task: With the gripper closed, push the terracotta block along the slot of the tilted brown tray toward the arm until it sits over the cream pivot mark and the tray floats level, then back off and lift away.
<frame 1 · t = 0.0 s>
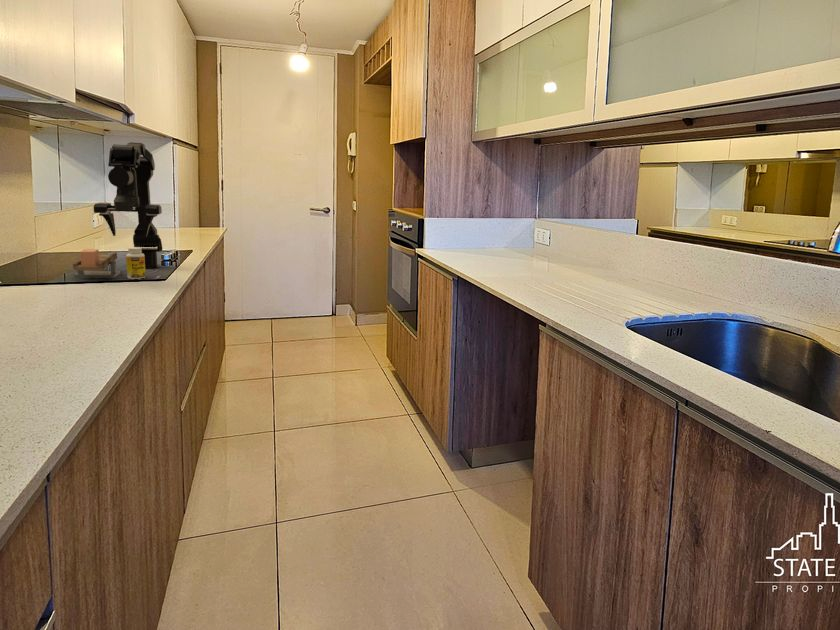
hand: (130, 236, 188), 15 cm above the counter, tool pointing down, fingers open, 9 cm apart
supplement bottle: (136, 279, 196), on the counter
pivot stand: (97, 275, 198), on the counter
brown tray: (96, 260, 196), point 5 cm above the counter, hinge at 1.9°, touching rider block
rider block: (90, 264, 190), point 5 cm above the counter, touching brown tray
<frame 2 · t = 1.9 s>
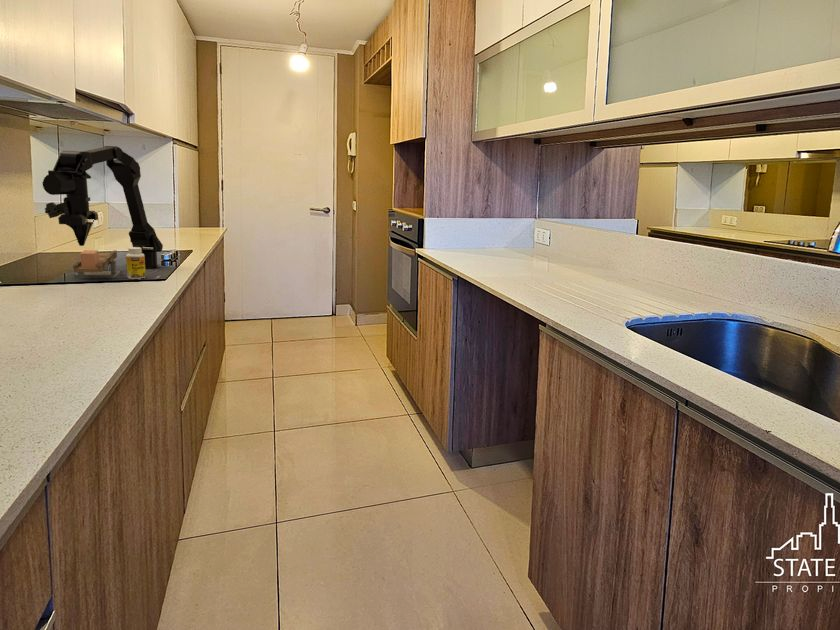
hand: (81, 245, 181), 12 cm above the counter, tool pointing down, fingers closed
brown tray: (96, 260, 196), point 5 cm above the counter, hinge at 4.9°, touching rider block
everything else where it was.
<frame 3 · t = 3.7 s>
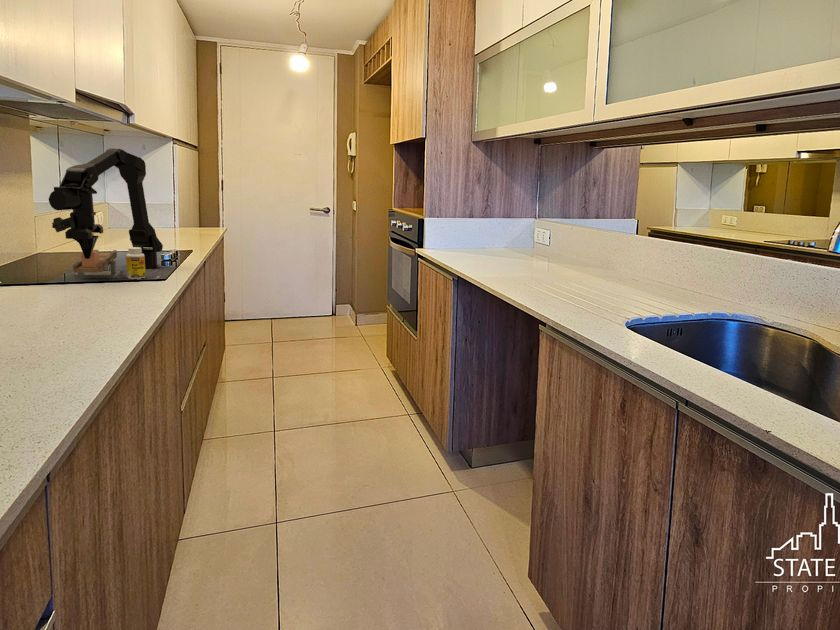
hand: (87, 258, 186), 7 cm above the counter, tool pointing down, fingers closed
rider block: (91, 264, 191), point 5 cm above the counter, tilted 5°, touching brown tray, gripper
everything else where it was.
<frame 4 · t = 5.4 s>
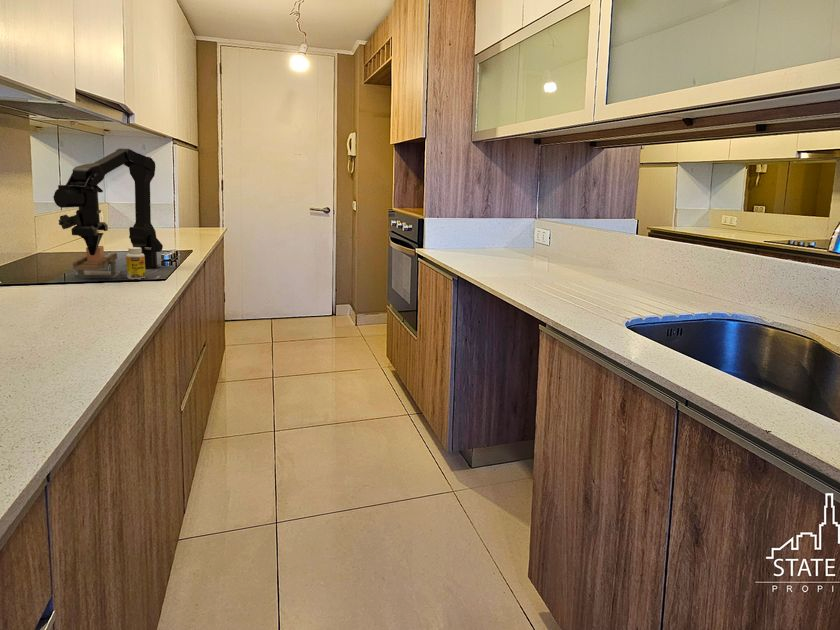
hand: (92, 255, 192), 8 cm above the counter, tool pointing down, fingers closed
brown tray: (96, 260, 196), point 5 cm above the counter, hinge at 1.1°, touching rider block
rider block: (96, 260, 196), point 5 cm above the counter, touching brown tray, gripper
everything else where it was.
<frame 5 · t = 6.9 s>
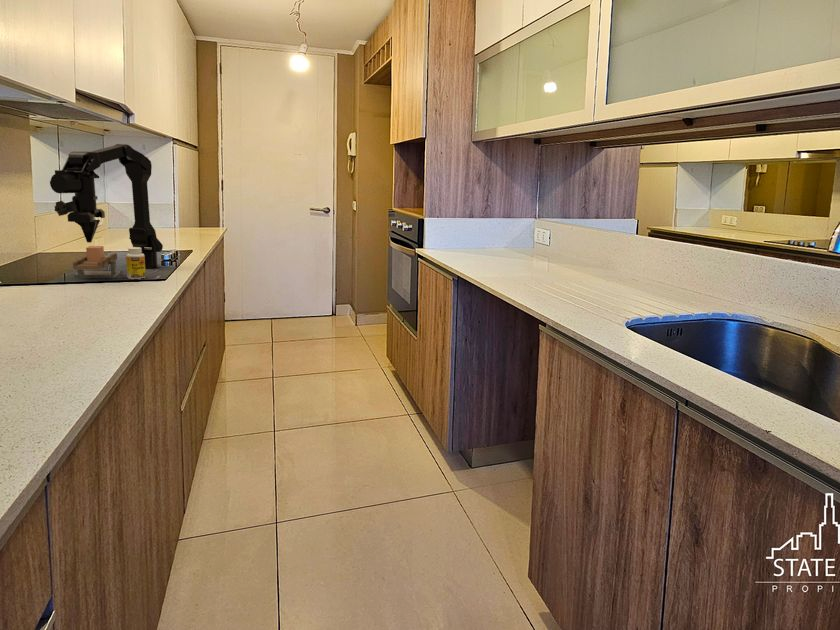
hand: (89, 242, 189), 12 cm above the counter, tool pointing down, fingers closed
brown tray: (96, 260, 196), point 5 cm above the counter, hinge at 0.4°, touching rider block
rider block: (96, 260, 196), point 5 cm above the counter, touching brown tray
everything else where it was.
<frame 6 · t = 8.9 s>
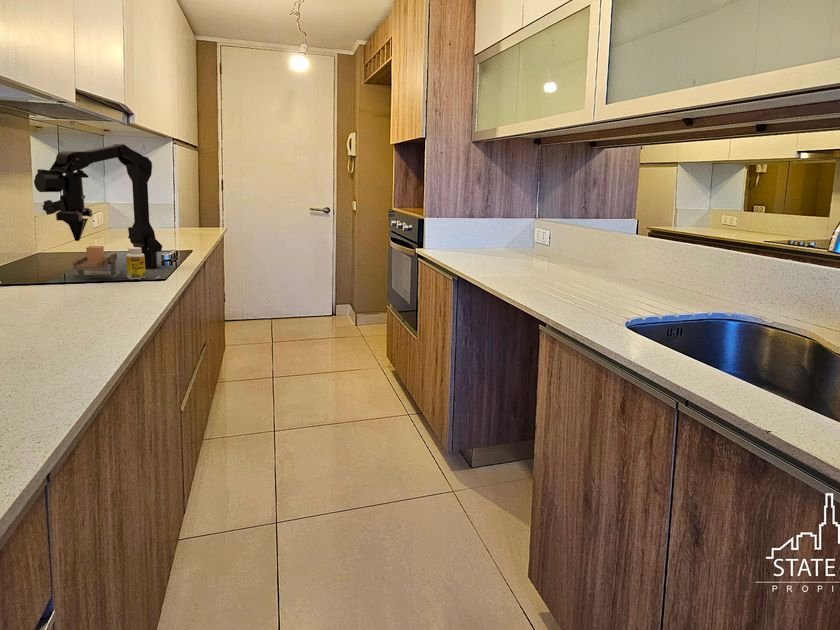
hand: (77, 240, 192), 12 cm above the counter, tool pointing down, fingers closed
nothing on the counter moved.
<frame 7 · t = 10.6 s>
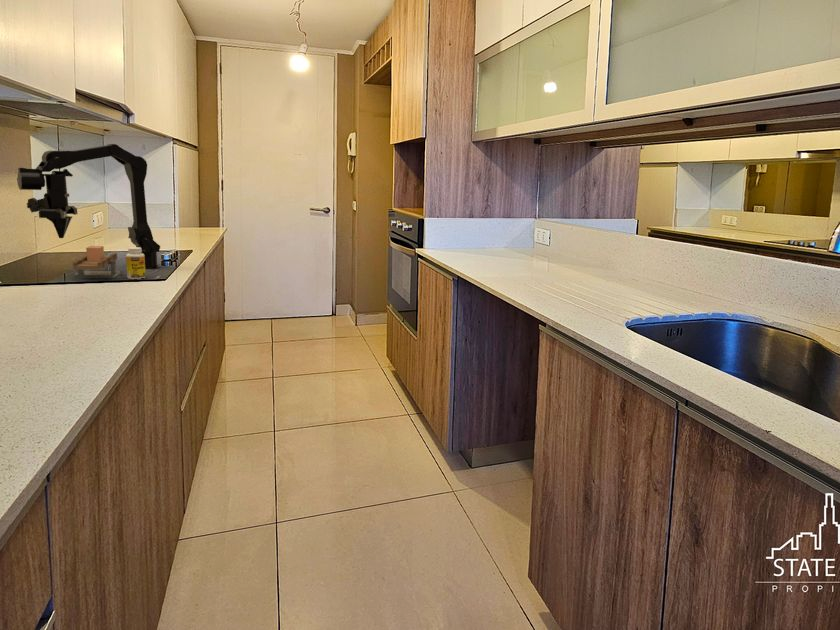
hand: (61, 238, 196), 12 cm above the counter, tool pointing down, fingers closed
nothing on the counter moved.
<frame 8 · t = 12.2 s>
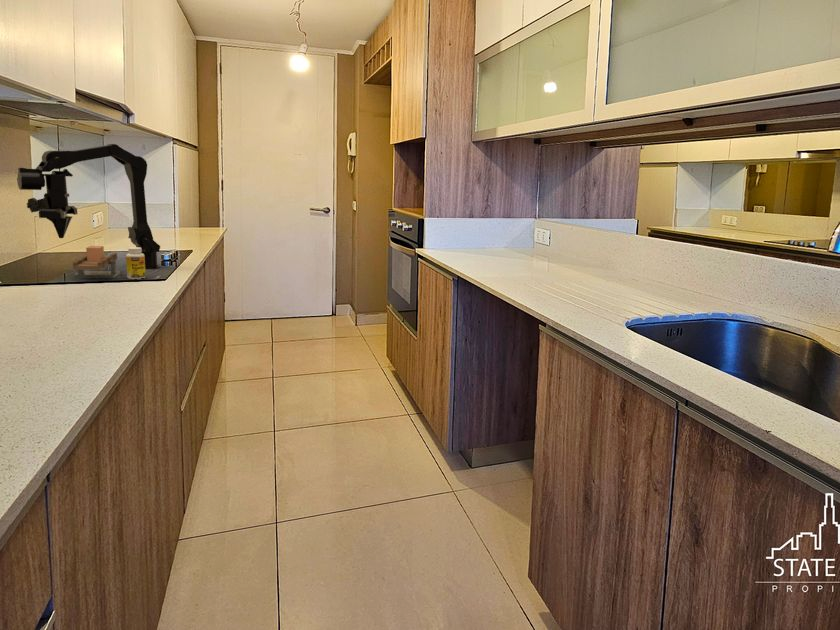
hand: (61, 238, 196), 12 cm above the counter, tool pointing down, fingers closed
nothing on the counter moved.
at the end: brown tray at +0° (first picture: +2°); rider block 0.1 cm off-centre on the brown tray, point 1.2 cm above the brown tray's base; supplement bottle moved 0.2 cm from its start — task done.
